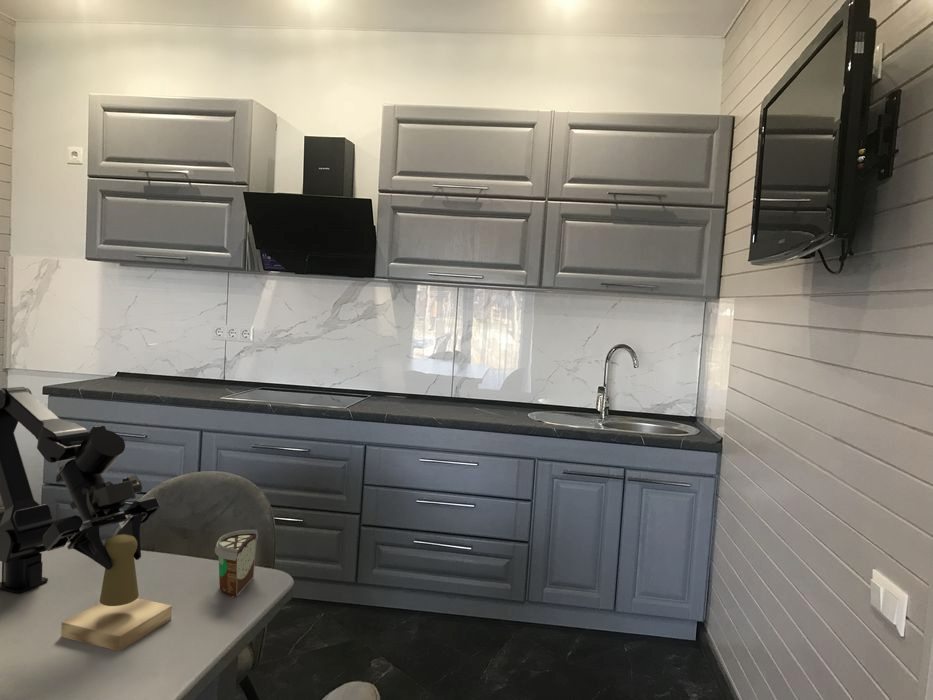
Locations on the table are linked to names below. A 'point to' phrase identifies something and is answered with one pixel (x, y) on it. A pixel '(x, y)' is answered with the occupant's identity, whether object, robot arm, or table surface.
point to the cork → (120, 572)
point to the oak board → (116, 623)
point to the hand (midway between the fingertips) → (124, 563)
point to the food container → (236, 560)
